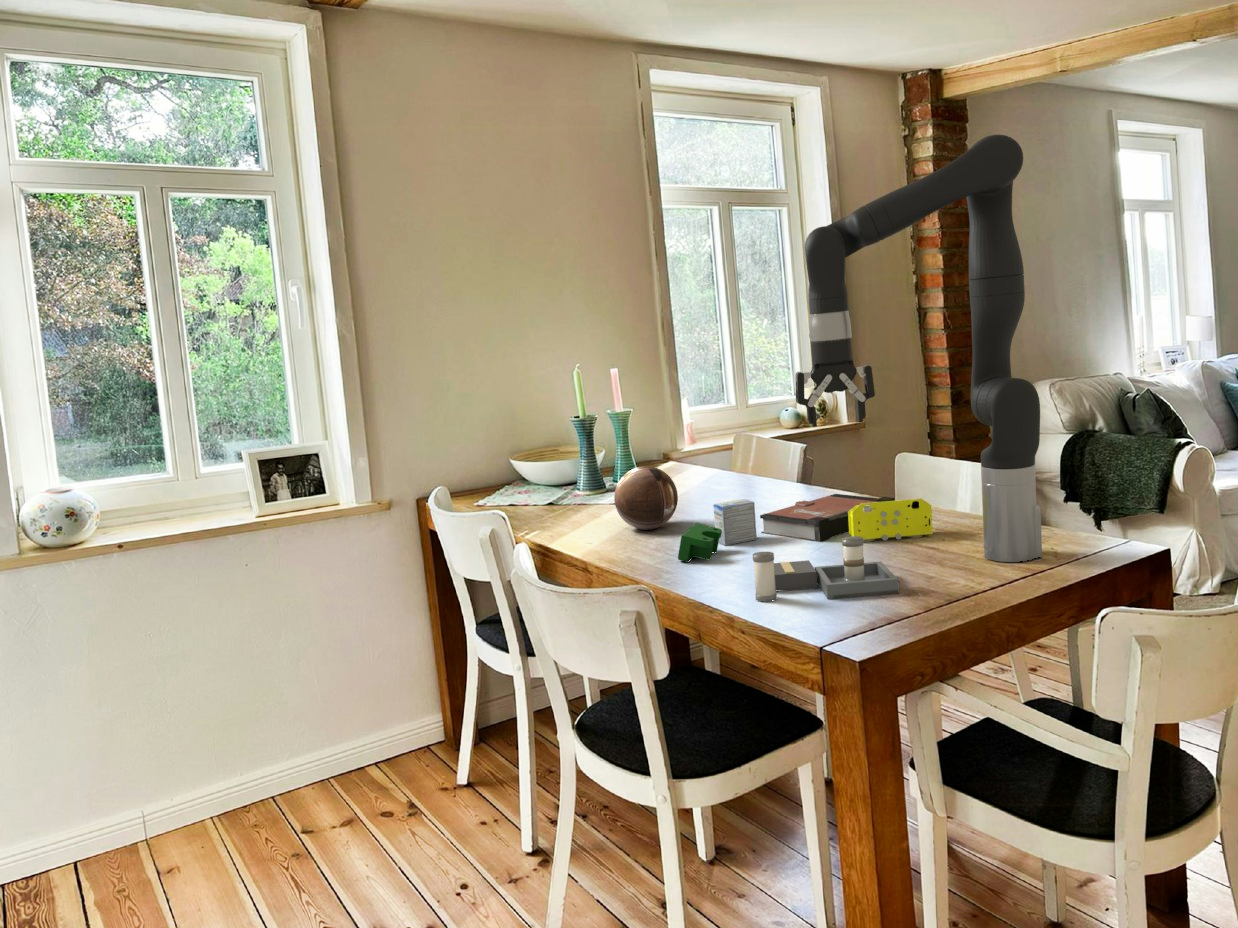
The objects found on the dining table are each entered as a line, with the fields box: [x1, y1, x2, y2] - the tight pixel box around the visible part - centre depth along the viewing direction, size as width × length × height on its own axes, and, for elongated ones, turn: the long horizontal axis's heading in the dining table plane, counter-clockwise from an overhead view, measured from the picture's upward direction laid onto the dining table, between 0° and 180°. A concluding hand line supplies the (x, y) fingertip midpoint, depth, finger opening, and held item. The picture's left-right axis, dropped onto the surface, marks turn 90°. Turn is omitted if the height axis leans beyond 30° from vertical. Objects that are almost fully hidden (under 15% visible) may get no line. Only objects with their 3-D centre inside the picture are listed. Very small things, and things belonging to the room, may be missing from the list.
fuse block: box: [774, 559, 818, 591], centre depth 178 cm, size 9×8×3 cm
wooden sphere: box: [613, 465, 679, 531], centre depth 233 cm, size 15×15×15 cm
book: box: [759, 493, 896, 543], centre depth 221 cm, size 26×18×5 cm
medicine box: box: [713, 498, 758, 547], centre depth 213 cm, size 8×4×9 cm, turn 111°
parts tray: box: [813, 561, 900, 600], centre depth 173 cm, size 12×12×2 cm
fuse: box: [752, 551, 778, 602], centre depth 170 cm, size 4×4×8 cm
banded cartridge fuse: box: [841, 535, 865, 582], centre depth 172 cm, size 4×4×8 cm
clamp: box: [677, 522, 722, 563], centre depth 204 cm, size 12×6×9 cm
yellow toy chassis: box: [848, 498, 933, 543], centre depth 204 cm, size 16×6×8 cm, turn 88°
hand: (837, 424), depth 184 cm, fingers open, 8 cm apart
